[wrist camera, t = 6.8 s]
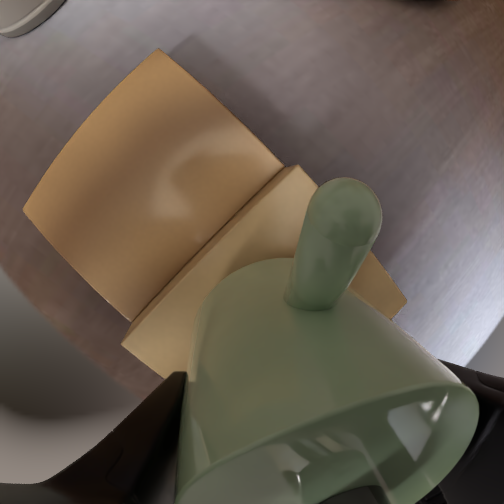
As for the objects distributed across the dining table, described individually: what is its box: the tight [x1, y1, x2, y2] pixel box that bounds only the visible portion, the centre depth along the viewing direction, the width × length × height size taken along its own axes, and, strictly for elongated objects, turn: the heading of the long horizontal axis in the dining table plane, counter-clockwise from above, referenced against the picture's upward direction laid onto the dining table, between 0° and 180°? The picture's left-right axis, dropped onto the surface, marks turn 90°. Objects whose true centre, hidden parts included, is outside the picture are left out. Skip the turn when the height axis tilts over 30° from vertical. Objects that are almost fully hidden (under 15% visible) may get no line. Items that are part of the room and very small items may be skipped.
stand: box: [23, 48, 407, 379], centre depth 12 cm, size 16×10×4 cm, turn 44°
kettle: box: [173, 177, 479, 504], centre depth 7 cm, size 10×6×8 cm, turn 1°
